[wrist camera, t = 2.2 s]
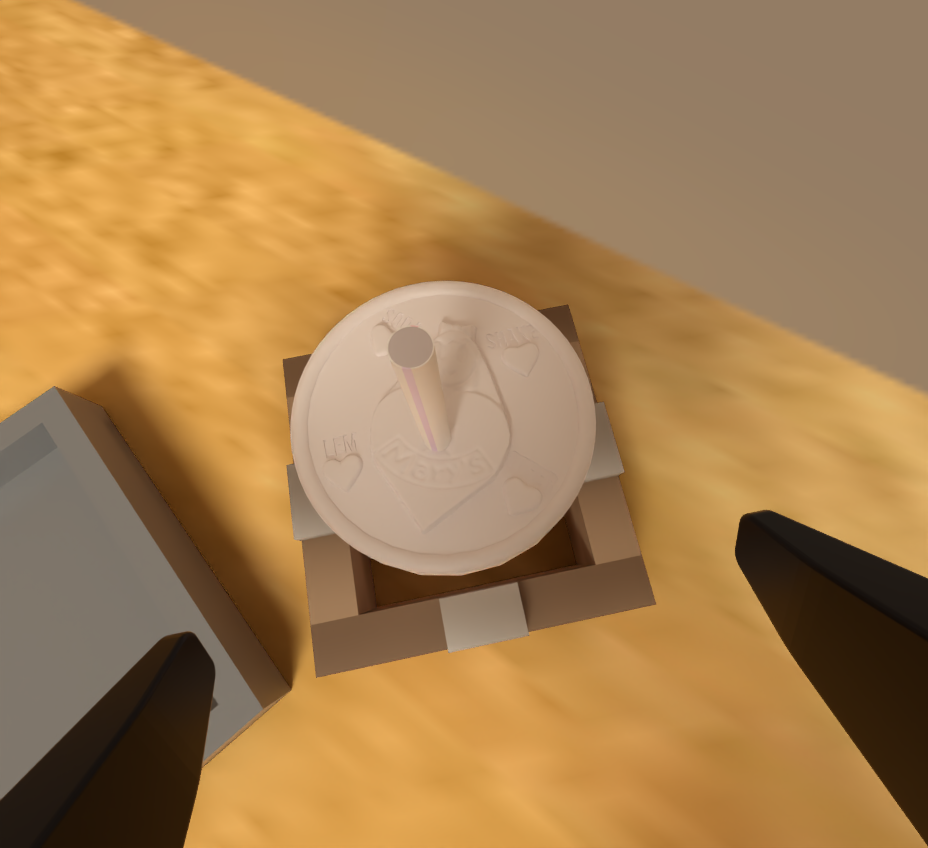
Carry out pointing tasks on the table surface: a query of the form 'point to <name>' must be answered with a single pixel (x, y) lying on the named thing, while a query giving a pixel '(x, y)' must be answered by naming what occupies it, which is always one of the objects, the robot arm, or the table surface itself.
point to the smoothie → (443, 427)
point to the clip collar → (480, 607)
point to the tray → (100, 585)
